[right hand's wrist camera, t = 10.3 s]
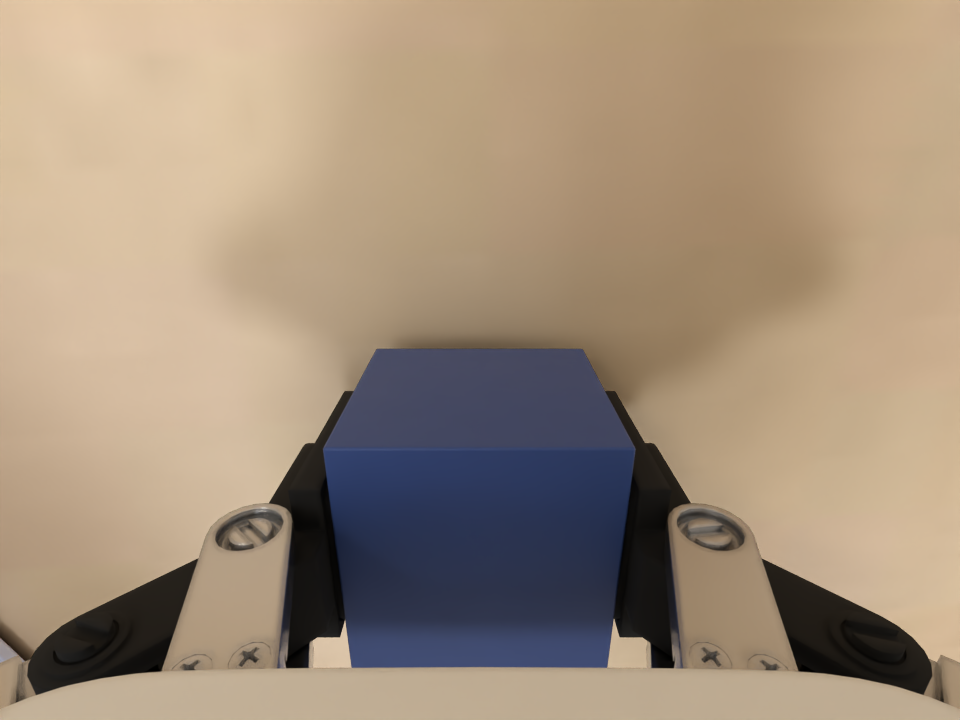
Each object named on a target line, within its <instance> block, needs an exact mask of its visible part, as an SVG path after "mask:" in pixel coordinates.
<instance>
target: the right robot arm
mask: <svg viewBox="0 0 960 720" xmlns="http://www.w3.org/2000/svg"><path fill="white" fill-rule="evenodd" d="M353 392H354V391H345V392H344V393H343V395H342V397H341V398H340V400H339V402H338V404H337V405H336V407H335V409H334V411H333V412H332V414H331V416H330V418H329V419H328V421H327V423H326V425H325V426H324V428H323V430H322V432H321V433H320V435H319V437H318V439H317V440H316V442H315V443H308V444H305V445H304V446H303V448H302V449H301V451H300V453H299V454H298V456H297V458H296V459H295V461H294V463H293V464H292V466H291V467H290V469H289V471H288V472H287V474H286V476H285V477H284V479H283V481H282V482H281V484H280V486H279V487H278V489H277V491H276V492H275V494H274V496H273V497H272V499H271V500H270V502H269V503H264V504H253V505H249V506H245V507H242V508H239V509H237V510H234V511H232V512H230V513H228V514H227V515H225V516H223V517H222V518H220V519H219V520H218V521H217V522H216V523H215V524H214V525H213V526H212V527H211V528H210V530H209V531H208V533H207V535H206V537H205V540H204V543H203V546H202V549H201V552H200V555H199V558H198V559H196V560H194V561H192V562H190V563H188V564H186V565H184V566H182V567H179V568H177V569H175V570H173V571H171V572H169V573H167V574H165V575H163V576H161V577H159V578H157V579H155V580H153V581H150V582H148V583H146V584H144V585H142V586H140V587H138V588H136V589H134V590H132V591H130V592H128V593H126V594H124V595H122V596H119V597H117V598H115V599H113V600H111V601H109V602H107V603H105V604H103V605H101V606H99V607H97V608H95V609H93V610H91V611H88V612H86V613H84V614H82V615H80V616H78V617H77V618H75V619H73V620H71V621H70V622H68V623H66V624H64V625H63V626H61V627H60V628H59V629H57V630H56V631H55V632H54V633H52V634H51V635H50V636H49V637H47V638H46V639H45V641H44V642H43V643H42V644H41V645H40V646H39V647H38V648H37V649H36V651H35V652H34V654H33V656H32V658H31V659H30V660H27V661H25V662H23V663H22V661H21V659H20V656H19V655H17V656H15V657H13V658H10V659H8V660H6V661H3V662H1V663H0V720H960V663H959V662H957V661H954V660H952V659H950V658H947V657H945V656H943V655H940V657H939V660H938V662H935V661H933V660H930V659H928V657H927V655H926V653H925V651H924V650H923V649H922V648H921V647H920V645H919V644H918V643H917V642H916V641H915V640H914V639H913V638H912V637H911V636H910V635H909V634H907V633H906V632H905V631H904V630H902V629H901V628H900V627H898V626H897V625H895V624H894V623H892V622H890V621H888V620H887V619H885V618H883V617H881V616H880V615H877V614H875V613H873V612H871V611H869V610H867V609H865V608H863V607H861V606H859V605H857V604H855V603H853V602H851V601H849V600H846V599H844V598H842V597H840V596H838V595H836V594H834V593H832V592H830V591H828V590H826V589H824V588H822V587H820V586H817V585H815V584H813V583H811V582H809V581H807V580H805V579H803V578H801V577H799V576H797V575H795V574H793V573H791V572H789V571H786V570H784V569H782V568H780V567H778V566H776V565H774V564H772V563H770V562H768V561H766V560H764V559H762V558H761V555H760V552H759V549H758V546H757V543H756V540H755V537H754V535H753V533H752V531H751V530H750V528H749V527H748V526H747V525H746V524H745V523H744V522H743V521H742V520H741V519H740V518H738V517H737V516H735V515H733V514H732V513H730V512H728V511H726V510H723V509H721V508H718V507H715V506H711V505H707V504H696V503H690V501H689V499H688V498H687V496H686V494H685V493H684V491H683V490H682V488H681V486H680V485H679V483H678V481H677V480H676V478H675V476H674V475H673V473H672V471H671V470H670V468H669V466H668V465H667V463H666V461H665V460H664V458H663V457H662V455H661V453H660V452H659V450H658V448H657V447H656V446H655V445H654V444H652V443H644V441H643V439H642V437H641V436H640V434H639V432H638V430H637V429H636V427H635V425H634V423H633V422H632V420H631V418H630V417H629V415H628V413H627V411H626V410H625V408H624V406H623V404H622V403H621V401H620V399H619V397H618V396H617V394H616V392H615V391H605V392H606V394H607V396H608V398H609V400H610V402H611V403H612V405H613V407H614V409H615V411H616V413H617V415H618V417H619V419H620V420H621V422H622V424H623V426H624V428H625V430H626V432H627V434H628V435H629V437H630V439H631V441H632V443H633V445H634V447H635V449H636V450H635V457H634V465H633V473H632V480H631V488H630V496H629V504H628V511H627V519H626V527H625V534H624V542H623V550H622V557H621V565H620V573H619V581H618V588H617V596H616V604H615V611H614V619H615V622H616V626H617V629H618V633H619V636H620V637H643V638H644V639H646V640H647V641H648V643H647V649H646V652H647V668H540V667H420V668H313V652H314V649H313V643H312V641H313V640H314V639H315V638H317V637H340V635H341V632H342V628H343V625H344V621H345V613H344V605H343V598H342V590H341V582H340V575H339V567H338V559H337V552H336V544H335V537H334V529H333V521H332V514H331V506H330V498H329V491H328V483H327V476H326V468H325V460H324V453H323V448H324V446H325V444H326V442H327V440H328V439H329V437H330V435H331V433H332V431H333V429H334V427H335V426H336V424H337V422H338V420H339V418H340V416H341V414H342V412H343V411H344V409H345V407H346V405H347V403H348V401H349V399H350V398H351V396H352V394H353Z"/></svg>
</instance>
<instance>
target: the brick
mask: <svg viewBox="0 0 960 720" xmlns="http://www.w3.org/2000/svg"><path fill="white" fill-rule="evenodd" d="M635 450H636V449H635V447H634V445H633V443H632V441H631V439H630V437H629V435H628V434H627V432H626V430H625V428H624V426H623V424H622V422H621V420H620V419H619V417H618V415H617V413H616V411H615V409H614V407H613V405H612V403H611V402H610V400H609V398H608V396H607V394H606V392H605V390H604V388H603V387H602V385H601V383H600V381H599V379H598V377H597V375H596V373H595V371H594V370H593V368H592V366H591V364H590V362H589V360H588V358H587V356H586V354H585V353H584V351H583V349H376V351H375V353H374V355H373V357H372V358H371V360H370V362H369V364H368V366H367V368H366V370H365V372H364V373H363V375H362V377H361V379H360V381H359V383H358V385H357V386H356V388H355V390H354V392H353V394H352V396H351V398H350V399H349V401H348V403H347V405H346V407H345V409H344V411H343V412H342V414H341V416H340V418H339V420H338V422H337V424H336V426H335V427H334V429H333V431H332V433H331V435H330V437H329V439H328V440H327V442H326V444H325V446H324V448H323V453H324V460H325V468H326V476H327V483H328V491H329V498H330V506H331V514H332V521H333V529H334V537H335V544H336V552H337V559H338V567H339V575H340V582H341V590H342V598H343V605H344V613H345V620H346V628H347V636H348V643H349V651H350V659H351V666H352V668H420V667H540V668H607V665H608V658H609V650H610V642H611V634H612V627H613V619H614V611H615V604H616V596H617V588H618V581H619V573H620V565H621V557H622V550H623V542H624V534H625V527H626V519H627V511H628V504H629V496H630V488H631V480H632V473H633V465H634V457H635Z"/></svg>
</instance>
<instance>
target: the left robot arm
mask: <svg viewBox="0 0 960 720" xmlns="http://www.w3.org/2000/svg"><path fill="white" fill-rule="evenodd" d="M17 655H18V654H17V653H16V652H15V651H14V650H13V649H12V648H11V647H9V646H8V645H7V644H6V643H5V642H4V641H3V640H2V639H1V638H0V663H1V662H3V661H6V660H8V659H10V658H13V657H15V656H17ZM20 659H21V661H22V663H23V662H25V660H23V659H22V658H21V657H20Z"/></svg>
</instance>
